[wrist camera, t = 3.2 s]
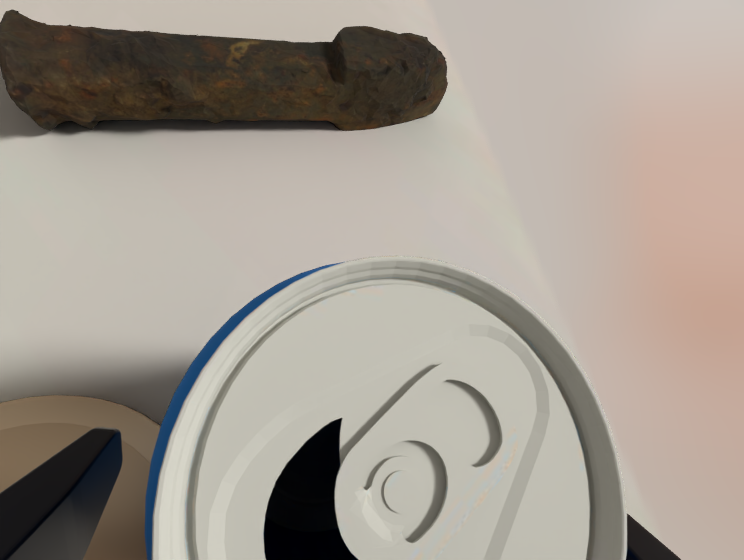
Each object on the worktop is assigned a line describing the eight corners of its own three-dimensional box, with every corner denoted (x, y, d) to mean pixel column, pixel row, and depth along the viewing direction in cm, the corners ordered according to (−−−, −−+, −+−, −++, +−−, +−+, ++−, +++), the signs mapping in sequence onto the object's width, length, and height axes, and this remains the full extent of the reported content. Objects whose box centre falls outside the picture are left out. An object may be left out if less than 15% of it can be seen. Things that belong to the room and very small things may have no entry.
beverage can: (198, 427, 15) (-50, 470, 4) (328, 321, 17) (422, 151, 6) (306, 568, 14) (415, 1151, 3) (426, 437, 16) (733, 486, 5)
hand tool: (40, 146, 17) (-40, 56, 13) (50, 73, 18) (-19, -31, 14) (438, 158, 22) (478, 96, 18) (426, 100, 23) (461, 28, 19)
